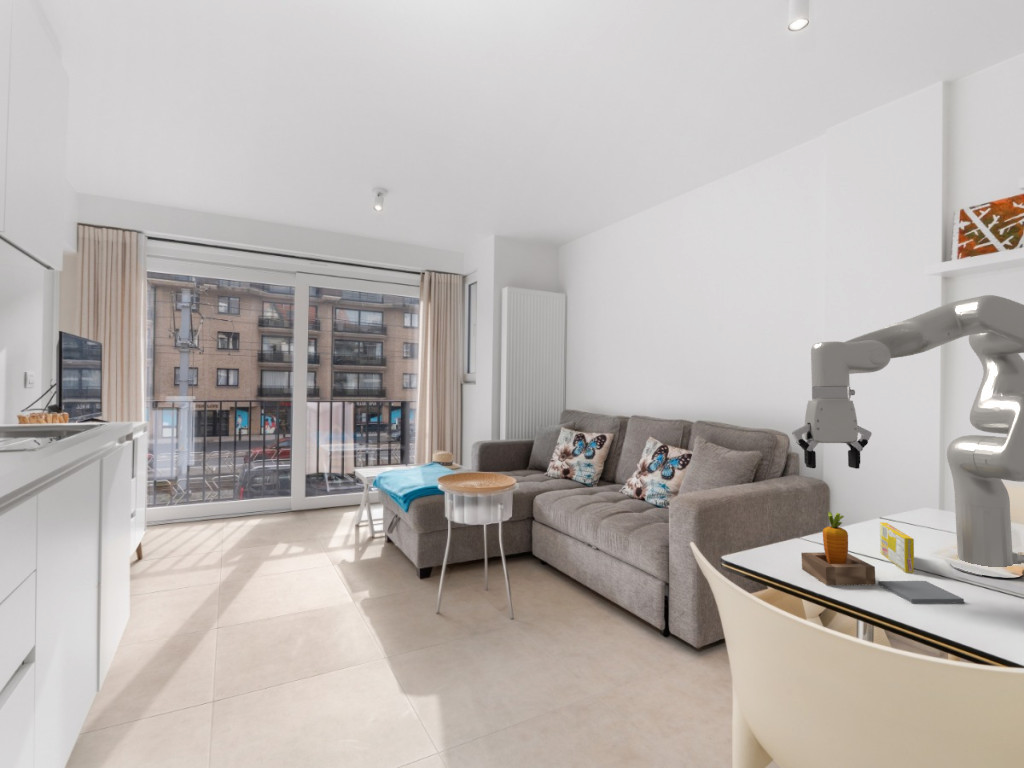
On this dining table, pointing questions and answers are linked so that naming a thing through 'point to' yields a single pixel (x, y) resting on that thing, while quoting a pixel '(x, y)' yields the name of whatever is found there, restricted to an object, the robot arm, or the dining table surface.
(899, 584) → the rubber mat
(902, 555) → the candy box
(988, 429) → the robot arm
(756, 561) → the dining table surface
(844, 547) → the carrot
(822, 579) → the walnut collar
